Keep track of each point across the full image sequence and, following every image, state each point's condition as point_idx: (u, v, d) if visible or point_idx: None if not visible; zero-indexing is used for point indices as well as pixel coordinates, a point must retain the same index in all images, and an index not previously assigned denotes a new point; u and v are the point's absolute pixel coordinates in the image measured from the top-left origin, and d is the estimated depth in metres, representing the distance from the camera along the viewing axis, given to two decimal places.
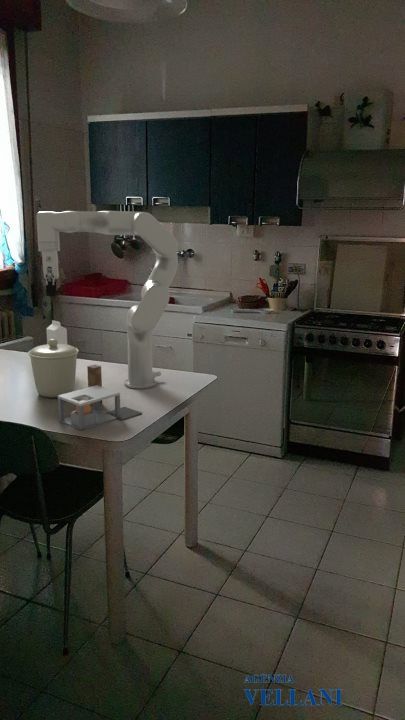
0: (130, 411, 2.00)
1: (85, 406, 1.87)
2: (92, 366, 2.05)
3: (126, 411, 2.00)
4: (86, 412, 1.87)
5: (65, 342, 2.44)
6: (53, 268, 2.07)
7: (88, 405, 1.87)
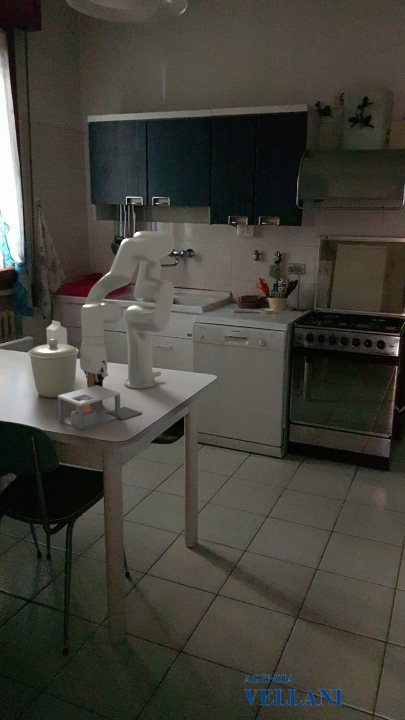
0: (130, 411, 2.00)
1: (85, 406, 1.87)
2: None
3: (126, 411, 2.00)
4: (86, 412, 1.87)
5: (65, 342, 2.44)
6: None
7: (88, 405, 1.87)
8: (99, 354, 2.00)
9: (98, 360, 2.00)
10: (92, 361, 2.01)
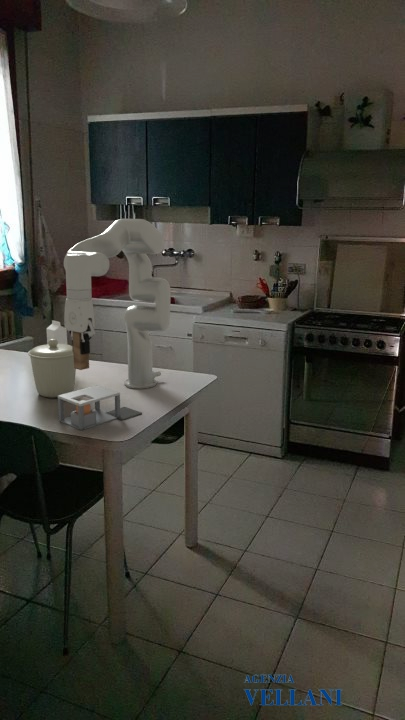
0: (130, 411, 2.00)
1: (85, 406, 1.87)
2: None
3: (126, 411, 2.00)
4: (86, 412, 1.87)
5: (65, 342, 2.44)
6: None
7: (88, 405, 1.87)
8: (85, 310, 1.77)
9: (84, 317, 1.77)
10: (77, 318, 1.78)
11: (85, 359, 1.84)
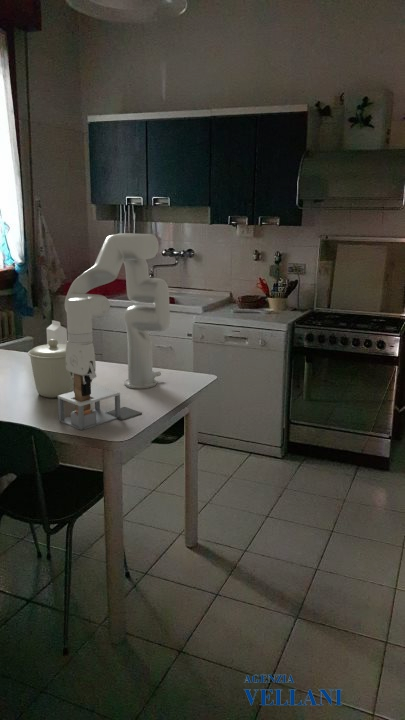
0: (130, 411, 2.00)
1: (85, 413, 1.87)
2: None
3: (126, 411, 2.00)
4: None
5: (65, 342, 2.44)
6: None
7: (88, 412, 1.88)
8: (86, 353, 1.79)
9: (85, 360, 1.79)
10: (79, 361, 1.80)
11: (86, 400, 1.86)
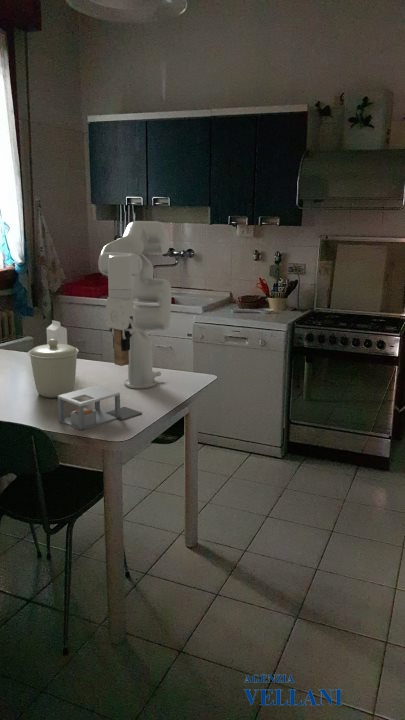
0: (130, 411, 2.00)
1: None
2: None
3: (126, 411, 2.00)
4: None
5: (65, 342, 2.44)
6: None
7: (88, 413, 1.88)
8: (127, 308, 1.85)
9: (126, 315, 1.86)
10: (119, 316, 1.87)
11: (125, 355, 1.93)
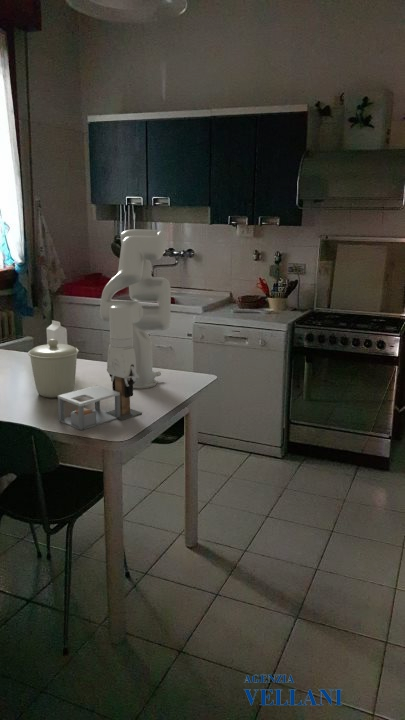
0: (130, 411, 2.00)
1: None
2: None
3: None
4: None
5: (65, 342, 2.44)
6: None
7: (88, 413, 1.88)
8: (128, 357, 1.90)
9: (127, 364, 1.90)
10: (121, 365, 1.91)
11: (126, 405, 1.97)
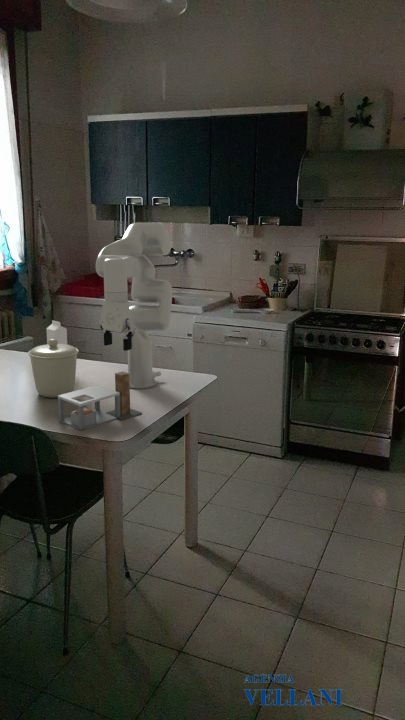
0: (130, 411, 2.00)
1: None
2: (120, 373, 1.95)
3: None
4: None
5: (65, 342, 2.44)
6: None
7: (88, 413, 1.88)
8: (123, 311, 1.88)
9: (122, 317, 1.88)
10: (115, 319, 1.89)
11: (126, 405, 1.97)
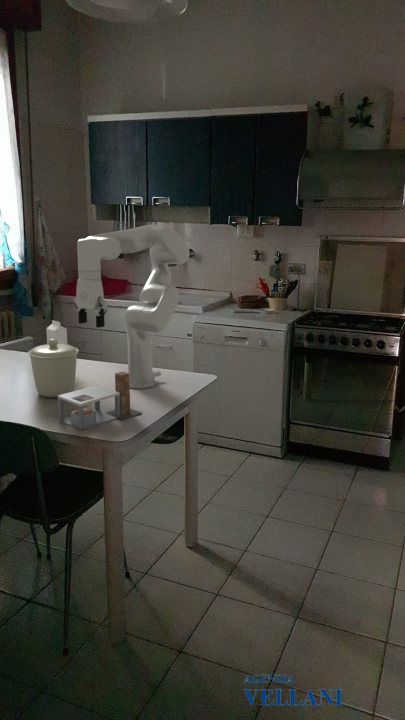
0: (130, 411, 2.00)
1: None
2: (120, 373, 1.95)
3: None
4: None
5: (65, 342, 2.44)
6: None
7: (88, 413, 1.88)
8: (95, 289, 1.96)
9: (94, 295, 1.96)
10: (88, 296, 1.97)
11: (126, 405, 1.97)
